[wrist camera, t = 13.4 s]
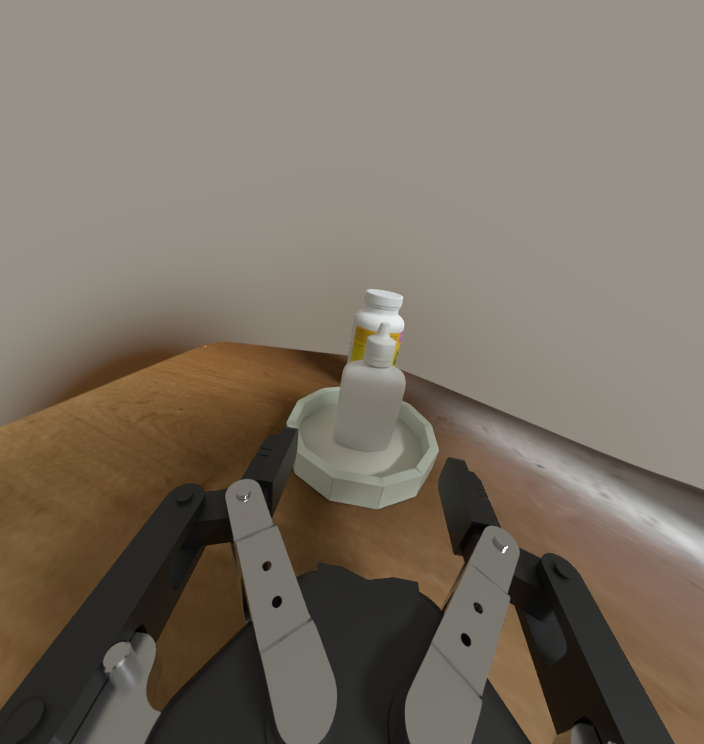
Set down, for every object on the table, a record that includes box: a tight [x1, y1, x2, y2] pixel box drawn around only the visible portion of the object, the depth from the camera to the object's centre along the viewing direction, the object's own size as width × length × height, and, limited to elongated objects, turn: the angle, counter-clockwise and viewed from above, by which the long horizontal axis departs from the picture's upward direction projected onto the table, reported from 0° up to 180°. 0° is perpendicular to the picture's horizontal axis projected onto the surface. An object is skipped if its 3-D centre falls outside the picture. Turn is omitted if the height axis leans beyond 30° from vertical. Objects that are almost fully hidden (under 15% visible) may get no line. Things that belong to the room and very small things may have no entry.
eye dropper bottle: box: [333, 322, 406, 452], centre depth 23 cm, size 4×6×12 cm
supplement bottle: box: [347, 289, 404, 367], centre depth 35 cm, size 7×7×13 cm
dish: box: [286, 387, 439, 509], centre depth 26 cm, size 14×14×2 cm
